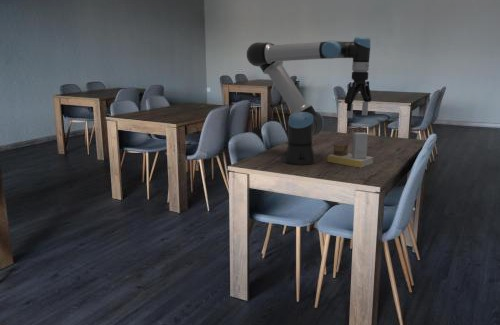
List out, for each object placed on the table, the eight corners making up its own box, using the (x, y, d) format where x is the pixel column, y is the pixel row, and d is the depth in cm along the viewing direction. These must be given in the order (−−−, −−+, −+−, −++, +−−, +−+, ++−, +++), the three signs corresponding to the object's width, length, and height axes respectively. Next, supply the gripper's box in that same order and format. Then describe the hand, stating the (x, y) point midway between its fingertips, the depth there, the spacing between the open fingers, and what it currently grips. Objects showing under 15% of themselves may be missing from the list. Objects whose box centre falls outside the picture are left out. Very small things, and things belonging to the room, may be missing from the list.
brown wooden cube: (342, 156, 223) (342, 146, 222) (333, 154, 226) (333, 144, 225) (347, 154, 226) (348, 144, 225) (338, 153, 230) (339, 143, 228)
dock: (360, 167, 213) (361, 161, 212) (327, 161, 225) (327, 155, 224) (372, 163, 222) (373, 157, 221) (340, 157, 234) (340, 151, 233)
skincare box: (363, 156, 222) (365, 132, 219) (366, 158, 218) (368, 133, 215) (351, 157, 221) (352, 132, 219) (354, 159, 217) (355, 133, 214)
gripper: (352, 72, 204) (349, 119, 209) (380, 71, 222) (377, 114, 227) (338, 71, 209) (335, 118, 214) (367, 70, 227) (363, 113, 232)
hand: (357, 116), depth 221 cm, fingers open, 13 cm apart
